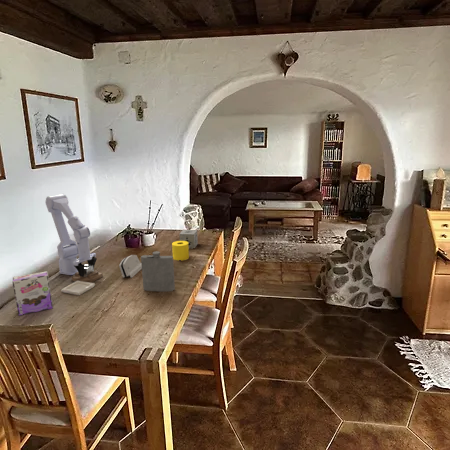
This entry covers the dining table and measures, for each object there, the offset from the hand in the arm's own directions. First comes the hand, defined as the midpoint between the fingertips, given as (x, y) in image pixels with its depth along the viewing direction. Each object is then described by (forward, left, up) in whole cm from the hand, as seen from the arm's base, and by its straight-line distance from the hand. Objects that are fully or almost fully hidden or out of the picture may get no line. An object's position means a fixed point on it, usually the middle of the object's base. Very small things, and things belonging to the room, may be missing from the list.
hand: (86, 273), depth 190 cm
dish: (+5, -12, -3) cm, 13 cm away
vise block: (0, 0, -3) cm, 3 cm away
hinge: (+17, +16, -3) cm, 24 cm away
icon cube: (+28, +67, -3) cm, 72 cm away
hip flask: (+44, +1, -3) cm, 44 cm away
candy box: (+2, -35, -3) cm, 35 cm away
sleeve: (0, 0, -1) cm, 1 cm away
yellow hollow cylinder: (+33, +45, -3) cm, 56 cm away
